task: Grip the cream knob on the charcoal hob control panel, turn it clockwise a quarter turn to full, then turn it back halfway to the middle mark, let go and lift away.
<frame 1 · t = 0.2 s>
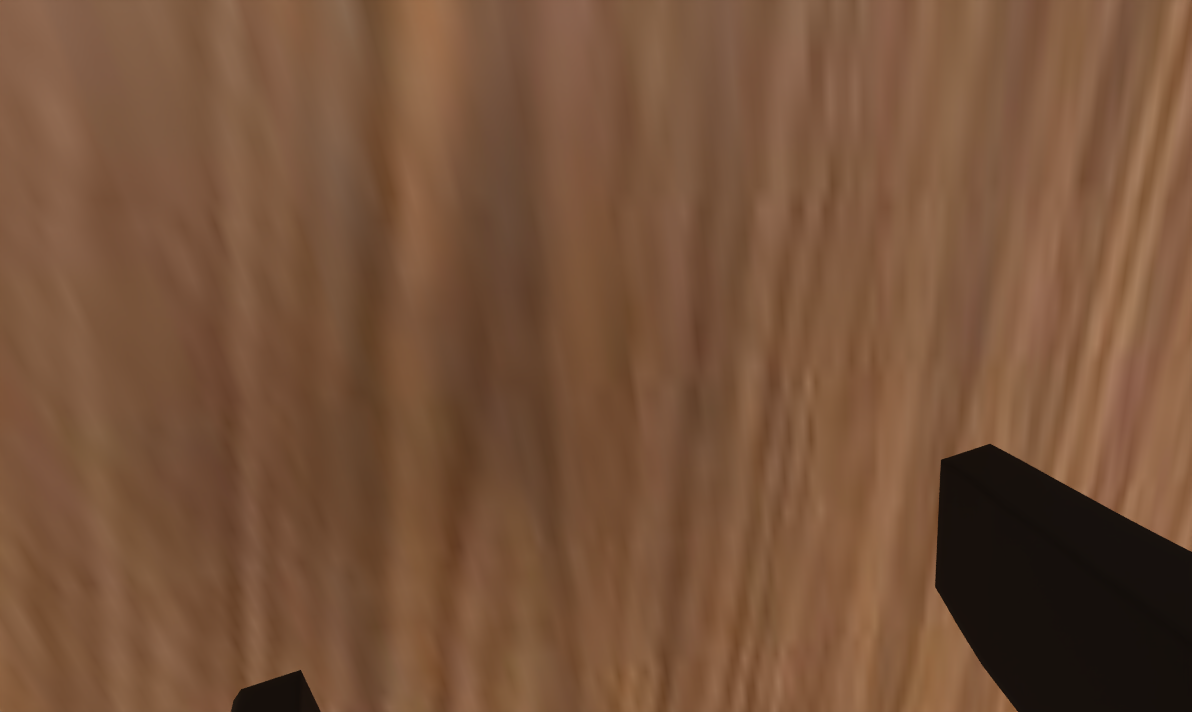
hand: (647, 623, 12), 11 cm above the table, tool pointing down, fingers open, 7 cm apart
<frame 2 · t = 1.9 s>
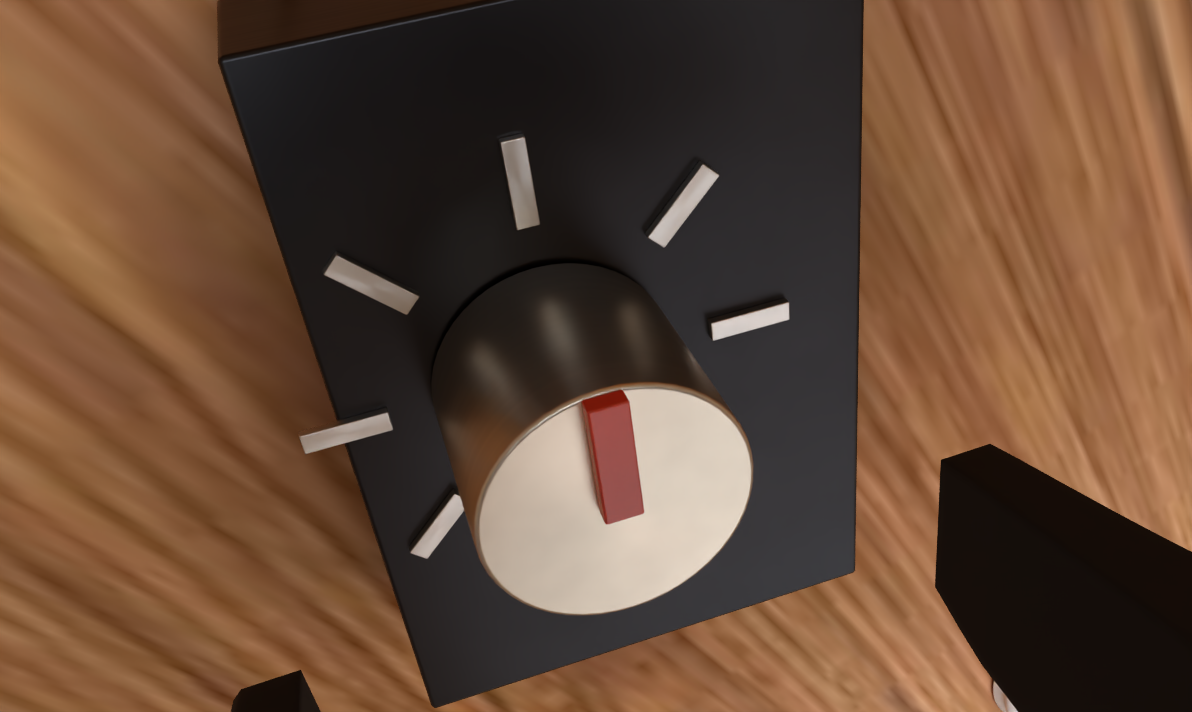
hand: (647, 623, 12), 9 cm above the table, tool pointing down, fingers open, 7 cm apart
chess piece: (1062, 652, 32), on the table
knob: (586, 440, 16), point 5 cm above the table, hinge at 0.0°
hob panel: (567, 294, 20), on the table
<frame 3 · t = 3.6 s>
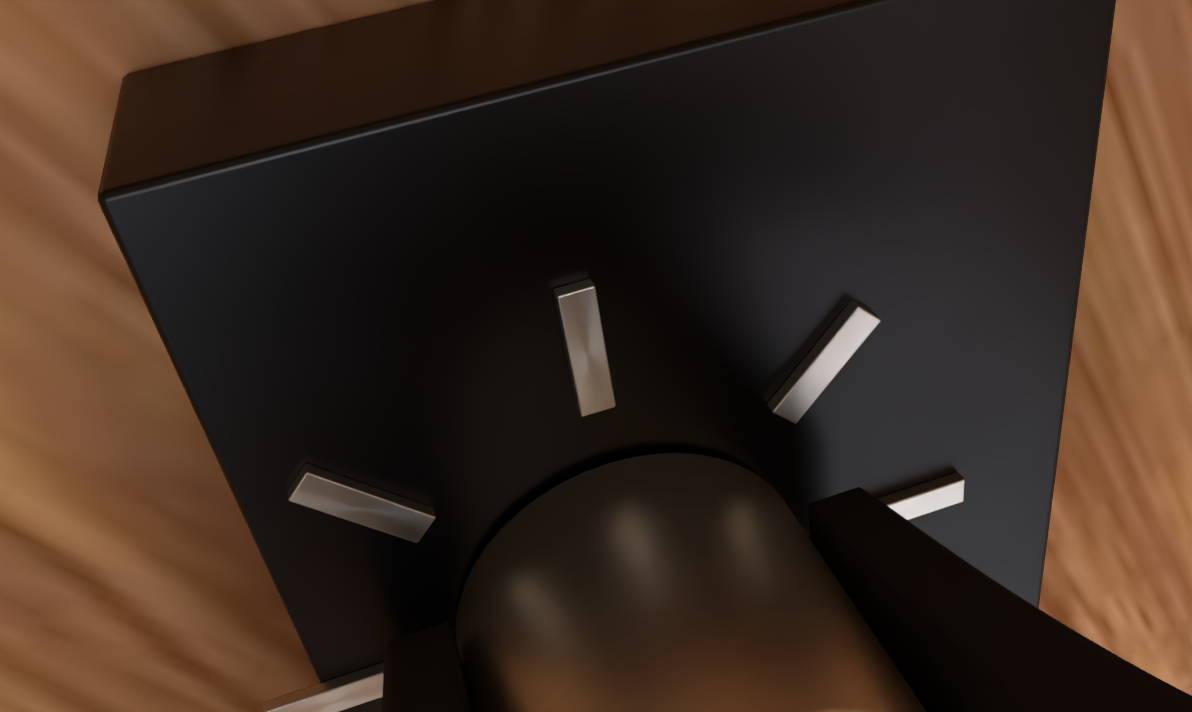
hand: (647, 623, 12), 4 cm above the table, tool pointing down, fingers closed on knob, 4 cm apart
hob panel: (635, 443, 15), on the table
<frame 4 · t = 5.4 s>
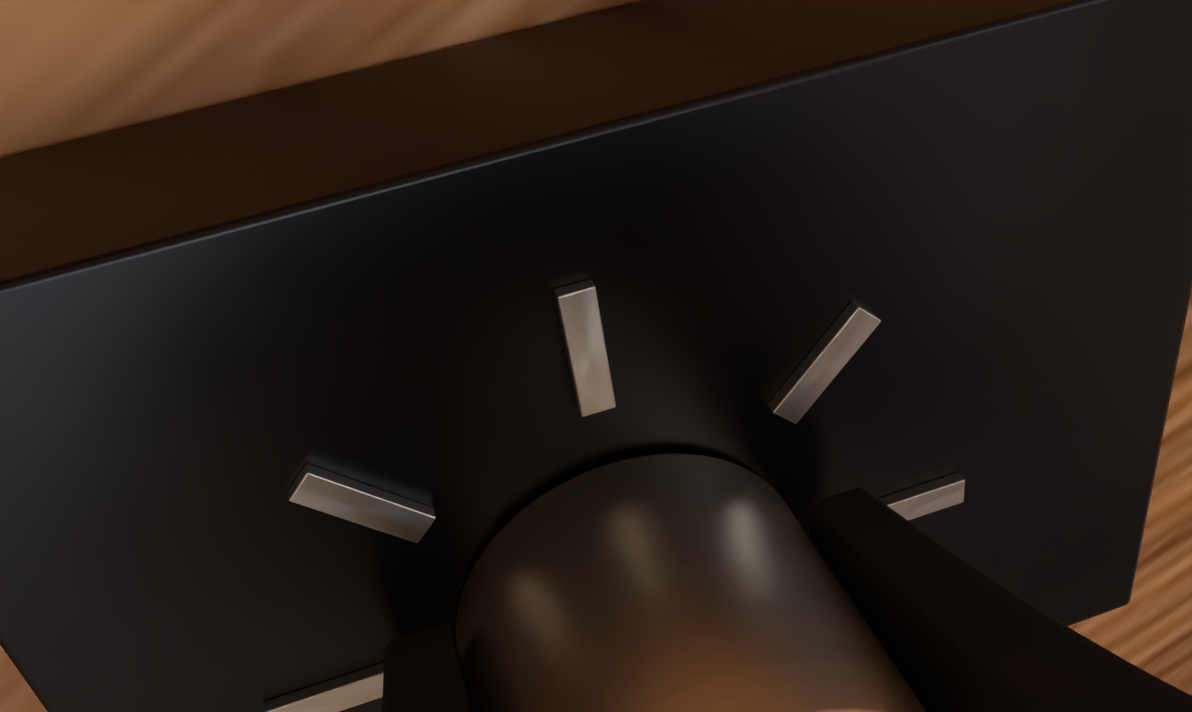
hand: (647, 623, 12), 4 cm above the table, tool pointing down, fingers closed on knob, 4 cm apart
hob panel: (585, 366, 14), on the table
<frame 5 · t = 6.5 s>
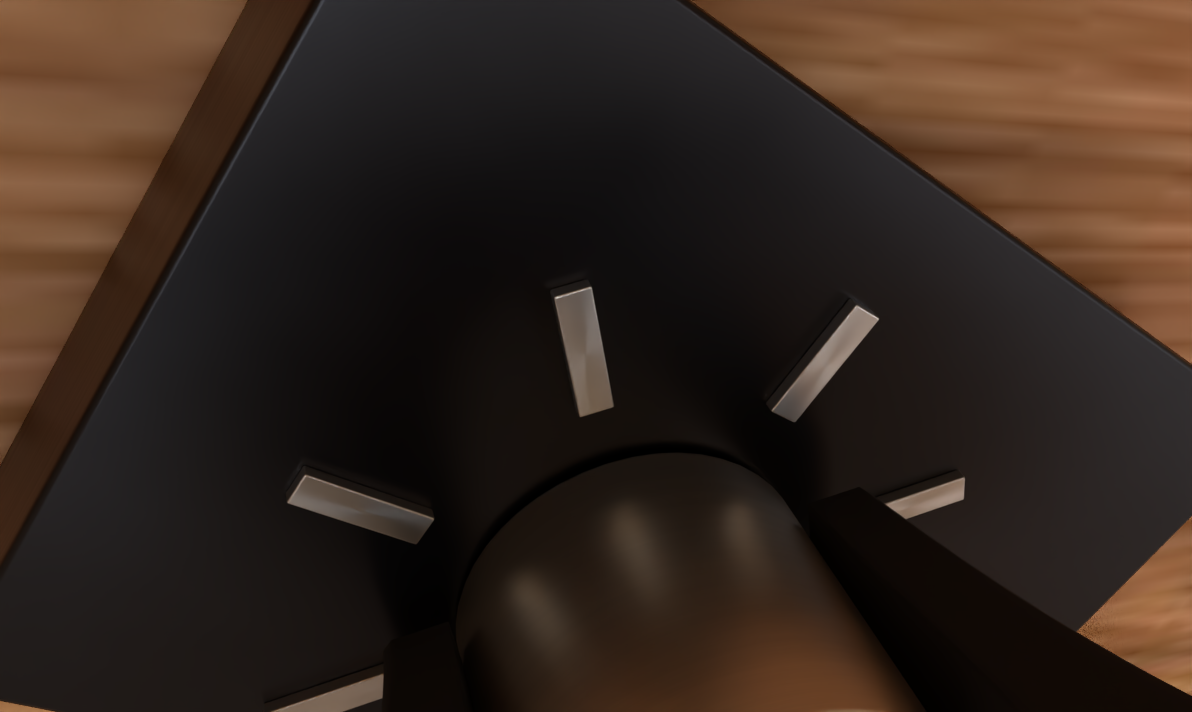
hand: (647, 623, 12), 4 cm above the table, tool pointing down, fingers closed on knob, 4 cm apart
hob panel: (631, 392, 15), on the table
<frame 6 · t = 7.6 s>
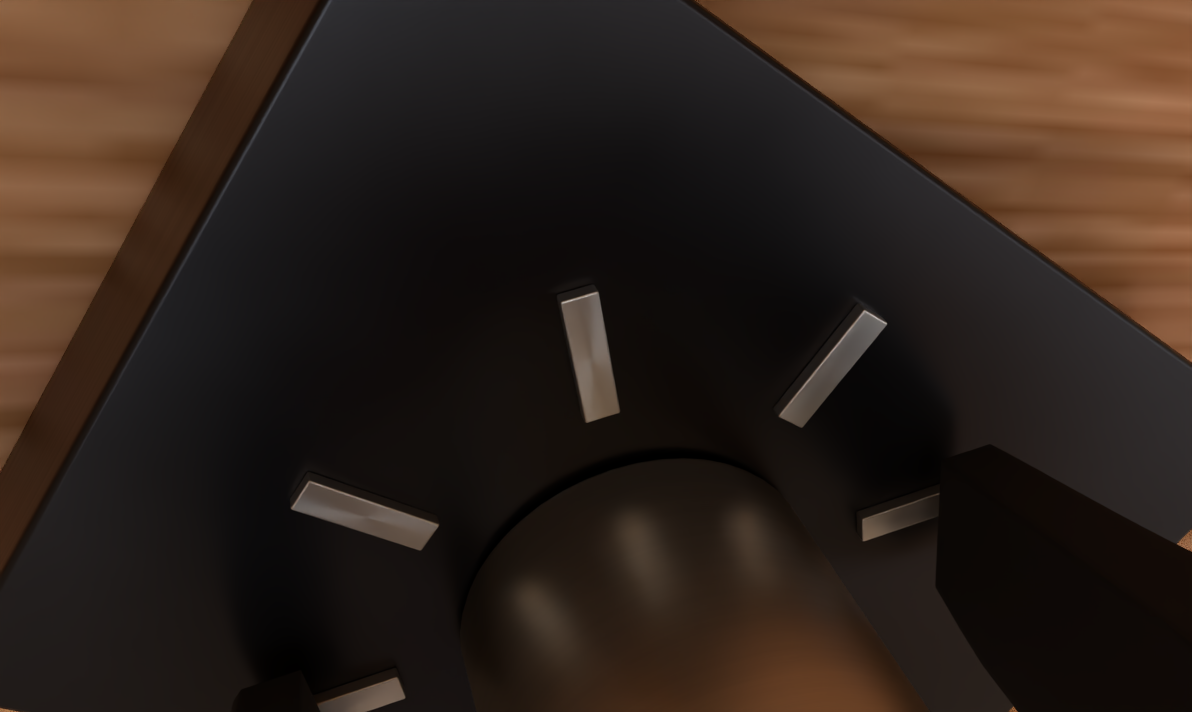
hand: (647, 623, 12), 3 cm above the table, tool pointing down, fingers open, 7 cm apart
hob panel: (636, 396, 14), on the table
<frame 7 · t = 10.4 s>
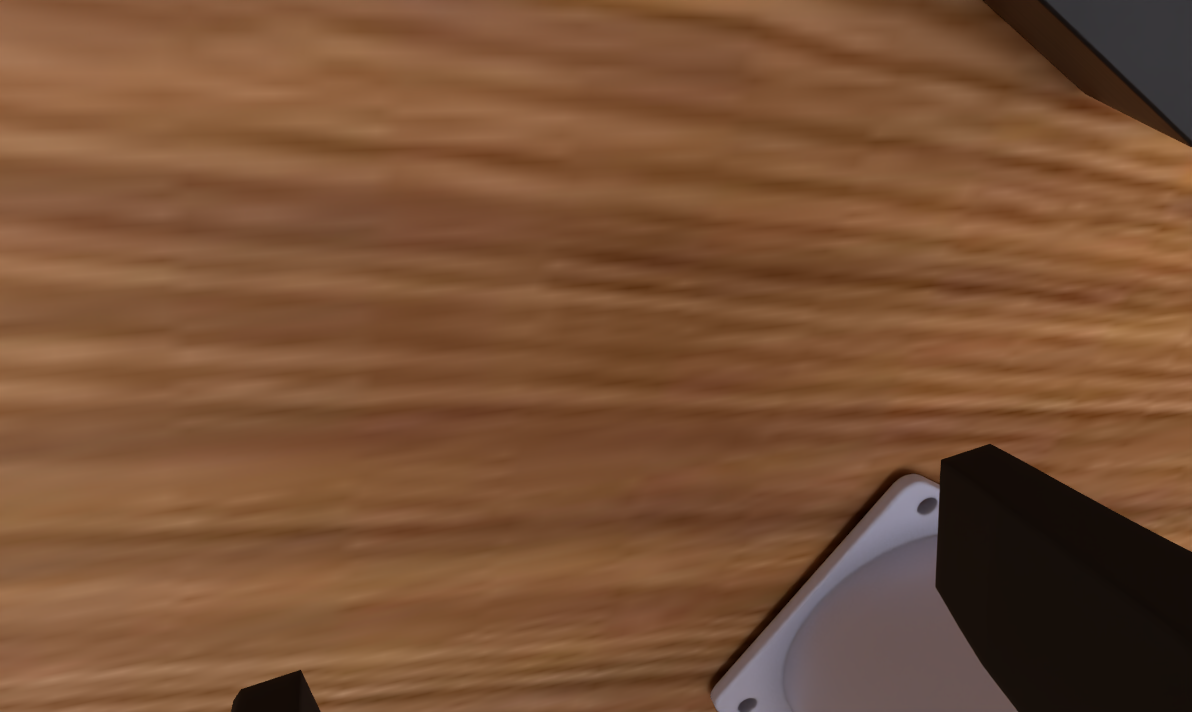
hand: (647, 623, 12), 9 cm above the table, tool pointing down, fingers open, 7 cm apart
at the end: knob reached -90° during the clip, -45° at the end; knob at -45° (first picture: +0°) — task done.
